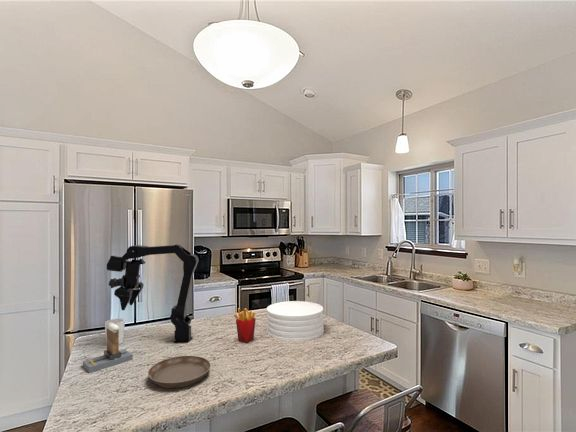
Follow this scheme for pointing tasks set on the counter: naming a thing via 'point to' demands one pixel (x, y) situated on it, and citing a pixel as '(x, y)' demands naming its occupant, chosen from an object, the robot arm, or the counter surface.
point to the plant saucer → (179, 371)
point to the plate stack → (295, 320)
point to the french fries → (245, 326)
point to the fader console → (106, 361)
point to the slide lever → (112, 341)
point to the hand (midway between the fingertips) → (127, 307)
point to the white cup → (121, 328)
